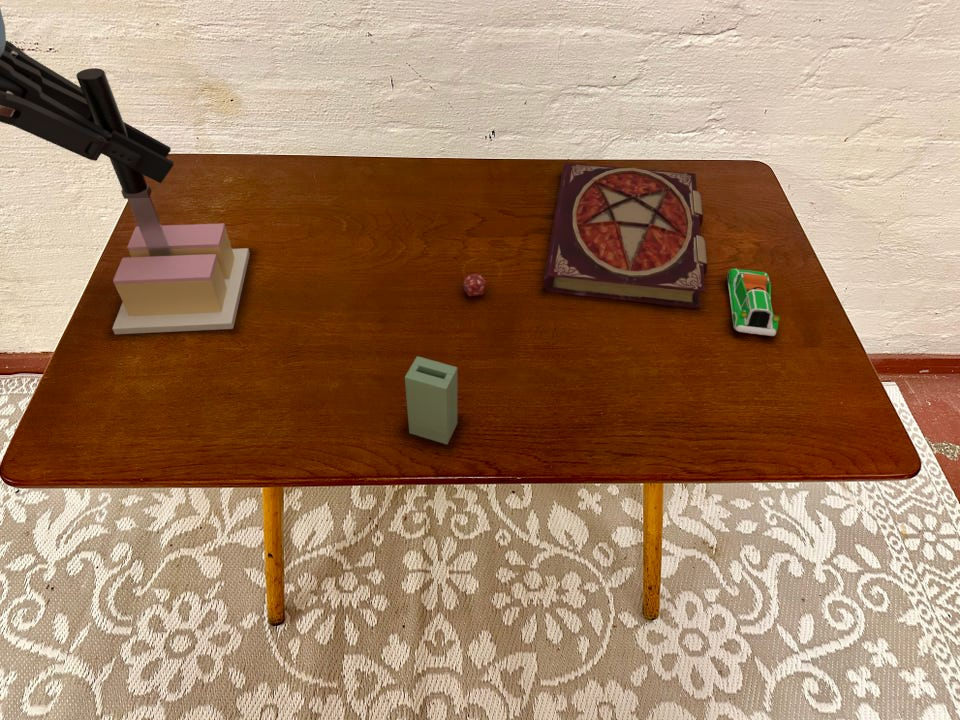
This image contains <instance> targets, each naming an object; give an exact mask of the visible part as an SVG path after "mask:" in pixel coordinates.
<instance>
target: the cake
mask: <svg viewBox="0 0 960 720" xmlns="http://www.w3.org/2000/svg"><path fill="white" fill-rule="evenodd" d="M161 226H162V229H163V232H164V234H165V237H166V240H167V242H168V245H169V248H170V250H171V253H172V256H152V257H151V256H150V254H149V251H148V249H147V246H146V244H145V241H144V239H143V236H142V234H141V232H140V229H139V227H138V225H137V226H135V228H134V230H133V233H132V235H131V237H130V239H129V241H128V244H127V246H126V248H127V250H128V251H127V252H129V255H130V257H129V256H128V257H122V258H121V261H120V263H119V264H118V265H119V266H118V267H117V269H116V272H115V274H114V276H113V279H112V282H113V284H114V286H115V288H116V290H117V292H118V295H119V297H120V299H121V301H122V303H121V305H120V308H119V310H118V312H117V316H116V318H115V321H114V323H113V325H112V328H111V329H112V332H113V334H114V335H130V334H131V335H132V334H152V333H153V334H154V333H175V332H176V333H177V332H193V331H194V332H197V331H216V330H217V331H218V330H233V329H234V326H235V323H236V318H237V313H238V309H239V305H240V300H241V296H242V291H243V288H244V287H243V286H244V282H245V278H246V273H247V268H248V265H249V259H250V255H251V253H250V250H249V248H248V247H245V248H233V247H232V245H231V240H230V237H229V234H228V231H227V227H226V223H223V222H221V223H196V224H194V223H193V224H167V225H161Z"/></svg>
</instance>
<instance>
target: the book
mask: <svg viewBox="0 0 960 720" xmlns="http://www.w3.org/2000/svg"><path fill="white" fill-rule="evenodd" d="M697 187H698V186H697V175H696V173H695V172H685V171H684V172H682V171H671V170H658V169H657V170H656V169H645V168H635V167H623V166H622V167H621V166H612V165H611V166H608V165H600V164H599V165H598V164H584V163H573V162H567V163H564V165H563V166H562V170H561V176H560V181H559V188H558V194H557V200H556V205H555V210H554V211H555V212H554V217H553V224H552V228H551V235H550V240H549V246H548V252H547V258H546V263H545V270H544V275H543V284H542V287H543V289H544V290H545V291H546V292H548V293H549V292H550V293H556V294H557V293H558V294H566V295H575V296H583V297H592V298H593V297H594V298H600V299H601V298H602V299H610V300H618V301H619V300H620V301H627V302H635V303H643V304H653V305H662V306H670V307H671V306H672V307H680V308H689V309H697V310H701V306H702V305H701V296H700V295H701V294H700V293H706V282H705V277H706V275H707V274H708V273H707V272H708V256H707V245H706V238H705V237H703V236H702V235H701V227H702V225H703V221H704V220H703V219H704V213H703V201H702V193H701V192H699V191H698V189H697Z"/></svg>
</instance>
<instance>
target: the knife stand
mask: <svg viewBox="0 0 960 720" xmlns="http://www.w3.org/2000/svg"><path fill="white" fill-rule="evenodd" d="M458 372H459V371H458V367H457V366H454V365H450V364H447V363H443V362H440V361H436V360H433V359H429V358H425V357H421V356H418V355H417V356H416V357H415V358H414V361H413V362H412V364H411V366H410V367H409V369H408V370H407V372H406V374H405V376H404V386H405V397H406V409H407V411H406V412H407V423H408V433H409V434H410V435H414V436H418V437H421V438H424V439H427V440H431V441H433V442H437V443H441V444H444V445H448V444H449V442H450V440H451V438H452V436H453V434H454V432H455V429H456V427H457V425H458V387H459V386H458V380H459V379H458V377H459V375H458Z"/></svg>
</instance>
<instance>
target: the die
mask: <svg viewBox="0 0 960 720" xmlns="http://www.w3.org/2000/svg"><path fill="white" fill-rule="evenodd" d="M486 284H487V280H486V279H485V278H484V277H483V276H482V275H481V274H480V273H475V274H474V273H473V274H466V275H465V277H464V280H463V284H462V289H463V291H464V292H465V293H466V294H467V296H468V297H477V296H482V295H484V292H485V289H486Z"/></svg>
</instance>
